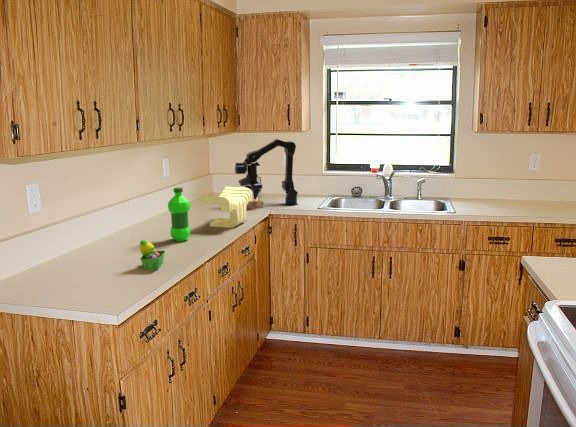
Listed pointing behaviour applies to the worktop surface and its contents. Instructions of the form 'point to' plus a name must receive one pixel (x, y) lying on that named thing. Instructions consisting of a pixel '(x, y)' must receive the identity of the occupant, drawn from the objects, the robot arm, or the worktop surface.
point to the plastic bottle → (179, 216)
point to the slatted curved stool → (230, 205)
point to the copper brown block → (255, 204)
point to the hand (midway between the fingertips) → (252, 198)
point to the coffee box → (260, 190)
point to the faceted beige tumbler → (253, 197)
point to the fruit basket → (150, 256)
